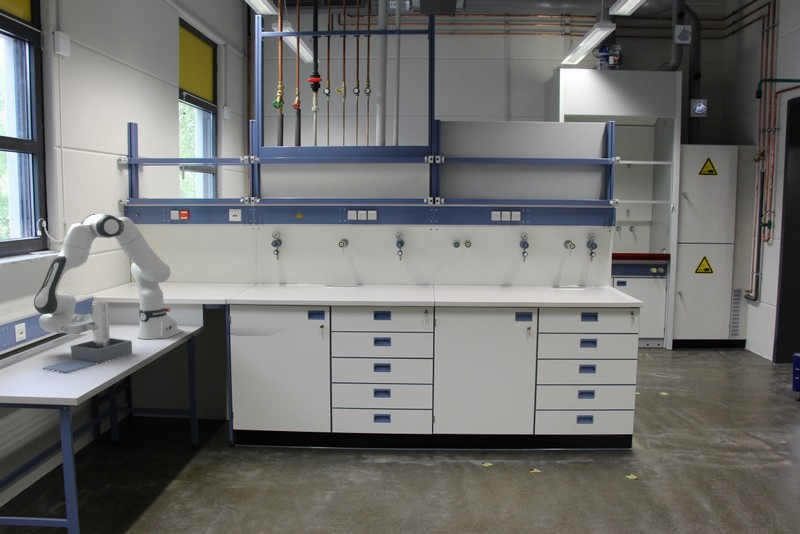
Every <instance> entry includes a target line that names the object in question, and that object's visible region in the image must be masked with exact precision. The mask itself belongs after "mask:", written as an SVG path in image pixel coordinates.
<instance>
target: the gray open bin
mask: <svg viewBox="0 0 800 534" xmlns="http://www.w3.org/2000/svg"><path fill="white" fill-rule="evenodd" d="M132 344H133V342H132V340H130V339H129V340H127V339H122V338H121V339H120V338H113V337H110V346H108V347H104V348H100V349H94V342H93V340H90V341H86V342H82V343H78V344H73V345H70V356H71V357H70V358H71V360H72V359H74V360H80V361H86V362H92V363H97V364H96V365H99V364H102V362H103V363H106V362H110V361H112V359H113V360H116V359H119V358H118V357H120V358H122V356H123V357H126V356H129V355H128V354H130V355H132V354H133V345H132ZM131 353H132V354H131ZM125 355H126V356H125ZM115 358H116V359H115ZM109 360H110V361H109ZM105 361H106V362H105Z"/></svg>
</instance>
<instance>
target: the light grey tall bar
mask: <svg viewBox="0 0 800 534" xmlns="http://www.w3.org/2000/svg"><path fill="white" fill-rule="evenodd" d="M91 315H92V323H93V325H97V326H98V329H96V330H92V338H93V339H92V341H93V342H94V349H100V348H104V347H108V346H110V338H111V335H110V317H109V302H108V301H107V300H105V299H103V300H99V299H98V300H93V301H92V303H91Z"/></svg>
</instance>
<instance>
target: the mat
mask: <svg viewBox="0 0 800 534" xmlns="http://www.w3.org/2000/svg"><path fill="white" fill-rule="evenodd" d="M92 365H93V366H95V365H97V364H96V363H92V362H86V361H80V360H74V359H72V358H71V359H69V360H65V361H61V362H58V363H55V364H51V365H47V366H45V367H42V368H43V369H42V370H44V369H49V370H48V371H50V370H54V371H53V372H55V371H59V372H58V373H61V372H63V373H62V374H69V373H72V372H71V371H73V372H76V371H80V370H82V368H83V369H85V368H89V367H93V366H92ZM75 370H76V371H75ZM68 372H69V373H68Z"/></svg>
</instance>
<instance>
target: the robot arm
mask: <svg viewBox="0 0 800 534" xmlns="http://www.w3.org/2000/svg"><path fill="white" fill-rule="evenodd" d="M97 238H102V239H103V238H107V239H110V238H115V239H116V241H117V242H118V244H119V246H120V247H121V249H122V250H123V252H124V254H125V255H126V257H127V259H129V260H130V261H132V263H131V265H130V273H131V275H132V276H133V278H134V280H135V284H136V287H137V291H138V295H139V312H138V313H139V315H138V316H139V327H138V334H137V338H138V339H142V340H156V339H169V338H170V337H172V336H176V335H177V334H180V333H183V332H184V331H183V329H182V328H178V323H177V322H178V321H176V319H174V318H172V317H171V316H169V315H168V314H167V312H168V313H170V312H171V308H170V307H164V293H163V291H162V289H161V287H160V285H159V283H163V282H166V281H168V279H170V276H171V268H170V266H169V265H168V264H167V263H165V262H164V261H163V260H162V259H161V258H160V257H159V255H157V254H156V252H155V251H154V250H153V249H152V248H151V246H150V245H149V244H148V242H147V240H146V239H145V238H144V236H143V234H142V233H141V231H140V229H139V228H138V226H136V224H135V223H134V222H133V221H132V219H130V218H129V217H127V216H120V217H118V218H117V217H116V216H114V215H111V214H106V213H98V214H97V213H93V214H89V215H88V216H86V217H85V218H84V219H83V221H82V222H79V223H73V224H72V225H71V226H70V228H69V229H68V231H67V233H66V235H65V239H64V242H63V245H62V247H61V250H60V252H59V253H58V255H57V256H56V257H54V259H53V260H52V261H51V264H50V266H49V268H48V270H47V273H46V275H45V278H44V280H43V282H42V285H41V287H40V289H39V290H38V292H37V294H36V295H35V297H34V299H33V305H34V308H35V310H36V311H37V312H38V313H39V314H40V317H39V319H38V323H39V326H40V328H41V329H42V330H43V331H44V332H48V333H53V334H54V333H55V334H69V335H79V334H81V333H85V332H87V331H93V330H96V329H98V326H97V325H93V323H92V313H84V314H83V313H76V312H75V311H76V307H77V300H76V298H75V296H74V295H72V294H71V293H65V292H57V290H58V288H59V286H60V283H61V281H62V279H63V276H64V274H65V273H67V272H68V271H70V270H72V269H75V268H79V267H81V266H83V265H84V264H85V263H86V262H87V261H88V258H89V255H90V252H91V248H92V244H93V242H94V240H95V239H97Z"/></svg>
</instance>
